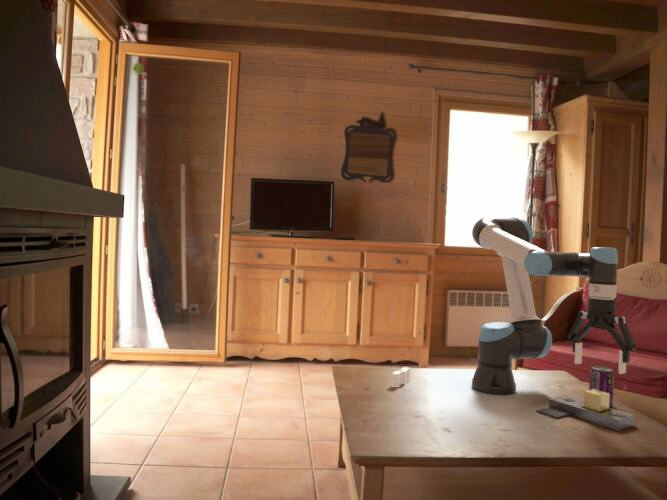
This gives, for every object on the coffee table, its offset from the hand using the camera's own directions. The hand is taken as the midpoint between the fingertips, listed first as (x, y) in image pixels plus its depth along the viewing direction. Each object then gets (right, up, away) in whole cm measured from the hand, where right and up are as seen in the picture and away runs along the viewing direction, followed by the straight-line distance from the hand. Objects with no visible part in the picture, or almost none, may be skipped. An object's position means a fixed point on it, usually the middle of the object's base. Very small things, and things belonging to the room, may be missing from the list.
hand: (599, 368), depth 158 cm
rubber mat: (-12, -15, +4) cm, 20 cm away
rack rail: (-2, -15, +2) cm, 16 cm away
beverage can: (+8, -16, +15) cm, 23 cm away
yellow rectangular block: (-1, -15, +1) cm, 16 cm away
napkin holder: (-57, -13, +31) cm, 66 cm away
